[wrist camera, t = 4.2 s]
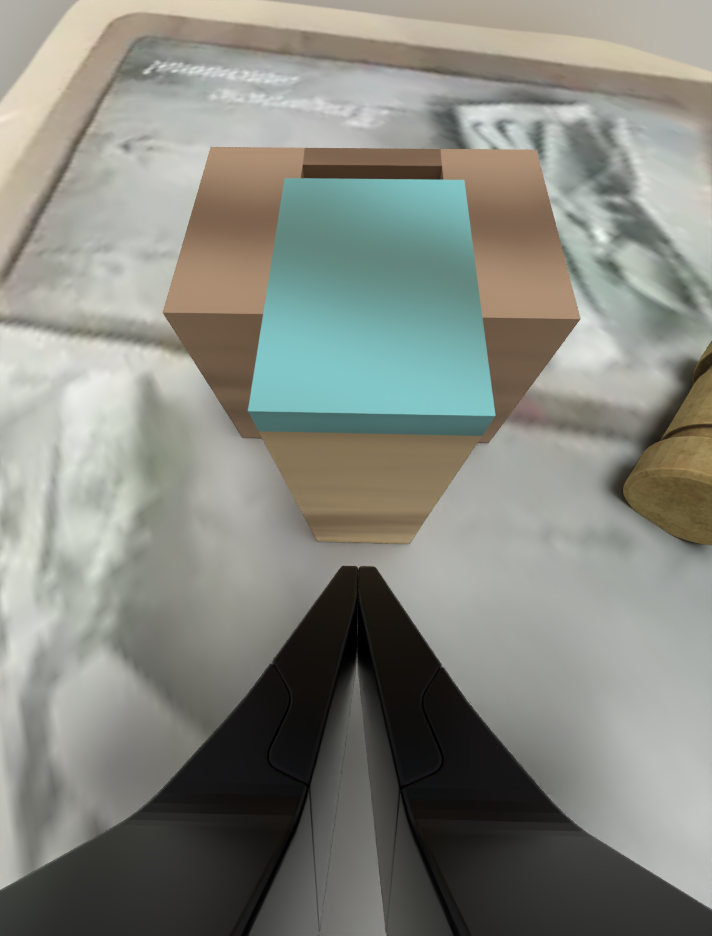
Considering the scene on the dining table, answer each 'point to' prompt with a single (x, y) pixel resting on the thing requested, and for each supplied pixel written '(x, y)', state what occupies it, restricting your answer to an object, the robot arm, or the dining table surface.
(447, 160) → the socket block
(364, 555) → the dining table surface
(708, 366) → the gavel
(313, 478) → the block
